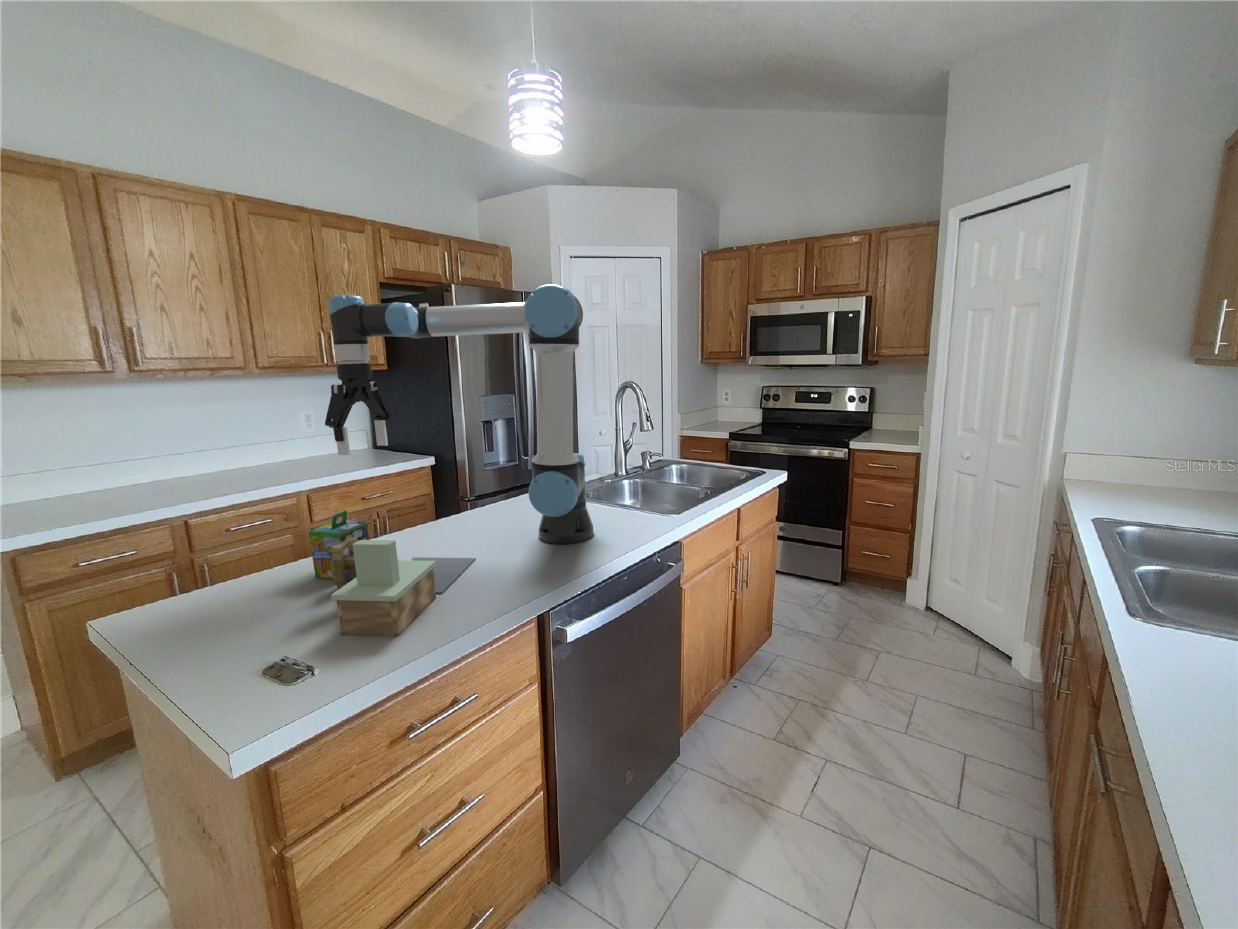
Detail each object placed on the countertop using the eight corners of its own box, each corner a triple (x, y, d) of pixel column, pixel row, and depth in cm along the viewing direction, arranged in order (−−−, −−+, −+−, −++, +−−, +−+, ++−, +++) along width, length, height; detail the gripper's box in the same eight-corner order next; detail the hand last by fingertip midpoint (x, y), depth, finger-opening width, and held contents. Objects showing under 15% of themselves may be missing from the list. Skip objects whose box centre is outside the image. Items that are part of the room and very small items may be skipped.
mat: (475, 559, 136) (475, 558, 136) (442, 593, 117) (442, 592, 117) (414, 558, 138) (414, 557, 138) (371, 592, 119) (370, 590, 119)
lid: (395, 601, 98) (389, 553, 96) (331, 600, 99) (325, 552, 97) (436, 565, 114) (432, 523, 112) (381, 564, 115) (376, 523, 114)
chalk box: (341, 564, 136) (333, 506, 133) (373, 566, 134) (366, 507, 131) (313, 578, 127) (304, 517, 125) (347, 581, 125) (339, 518, 122)
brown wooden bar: (384, 568, 109) (382, 550, 108) (332, 567, 110) (329, 549, 110) (390, 564, 111) (388, 546, 111) (339, 563, 113) (337, 545, 112)
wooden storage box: (398, 636, 99) (390, 566, 97) (311, 634, 101) (300, 565, 99) (436, 597, 115) (429, 536, 112) (360, 596, 117) (352, 536, 114)
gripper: (375, 362, 145) (384, 441, 149) (298, 364, 122) (312, 459, 126) (399, 361, 143) (408, 442, 147) (326, 363, 120) (339, 459, 124)
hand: (364, 450), depth 137 cm, fingers open, 13 cm apart
